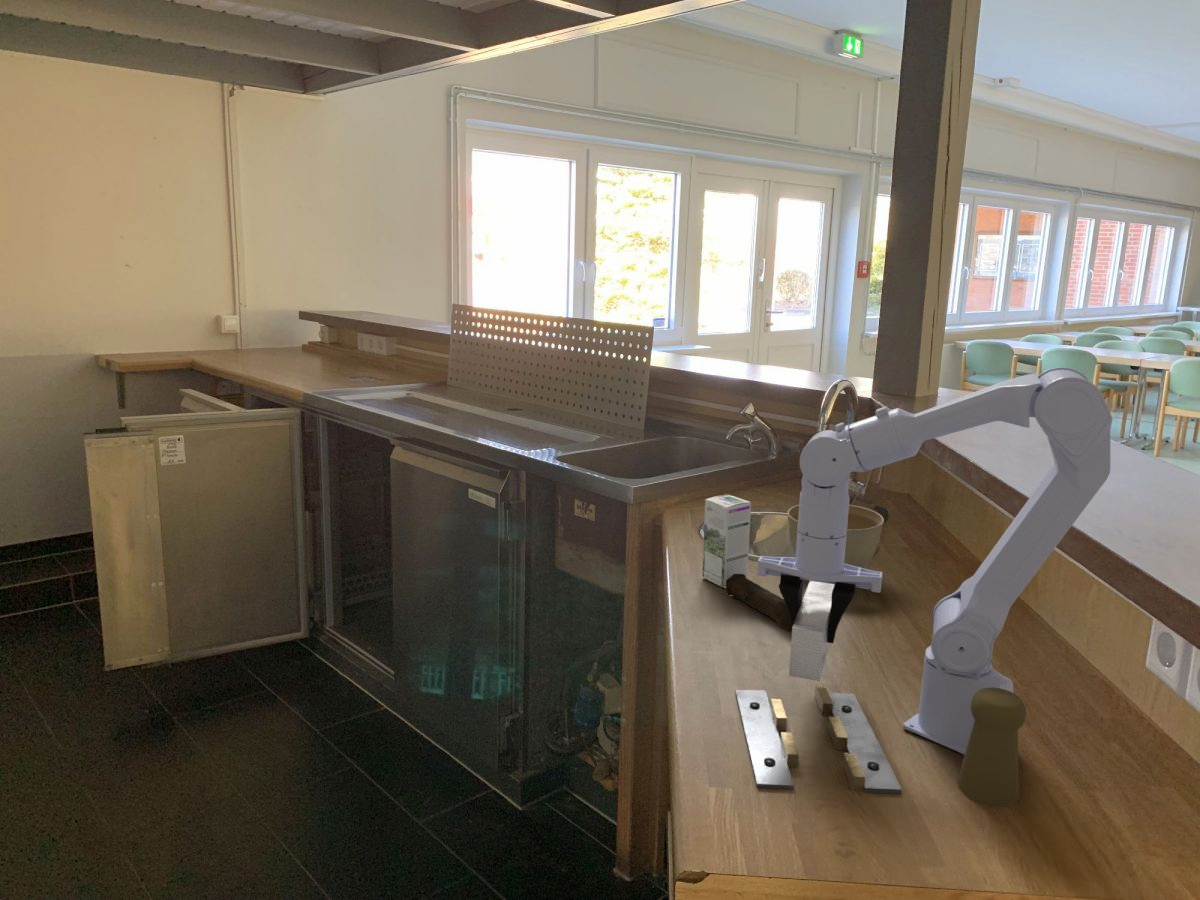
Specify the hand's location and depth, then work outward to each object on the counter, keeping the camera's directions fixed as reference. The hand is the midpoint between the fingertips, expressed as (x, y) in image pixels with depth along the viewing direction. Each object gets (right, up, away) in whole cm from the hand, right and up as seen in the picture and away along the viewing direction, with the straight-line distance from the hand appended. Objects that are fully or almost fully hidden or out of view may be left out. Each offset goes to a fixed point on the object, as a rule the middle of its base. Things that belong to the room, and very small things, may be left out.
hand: (813, 636), depth 106 cm
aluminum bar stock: (0, -2, +1) cm, 2 cm away
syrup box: (-5, 0, +42) cm, 42 cm away
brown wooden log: (+1, -3, +28) cm, 28 cm away
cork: (+15, -13, -15) cm, 25 cm away
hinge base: (-2, -10, -6) cm, 12 cm away
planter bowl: (+14, +1, +46) cm, 48 cm away
